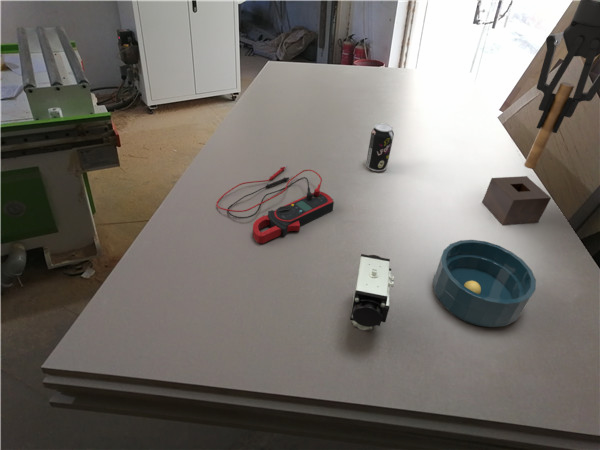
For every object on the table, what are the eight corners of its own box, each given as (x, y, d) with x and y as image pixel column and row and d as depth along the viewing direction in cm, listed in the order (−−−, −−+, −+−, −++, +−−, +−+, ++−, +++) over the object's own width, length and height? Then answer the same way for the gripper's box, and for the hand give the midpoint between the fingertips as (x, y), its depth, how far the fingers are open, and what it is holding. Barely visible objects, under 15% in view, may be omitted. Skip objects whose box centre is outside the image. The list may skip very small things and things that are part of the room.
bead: (473, 283, 71) (458, 291, 72) (484, 295, 71) (470, 303, 72) (473, 274, 73) (459, 282, 75) (484, 286, 73) (470, 294, 75)
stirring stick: (531, 163, 90) (568, 82, 79) (538, 168, 88) (577, 86, 77) (521, 163, 89) (558, 82, 78) (528, 169, 87) (566, 86, 76)
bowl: (490, 263, 82) (503, 237, 78) (538, 325, 70) (556, 298, 66) (418, 269, 80) (427, 242, 75) (455, 335, 68) (468, 307, 63)
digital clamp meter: (351, 192, 92) (262, 234, 79) (349, 208, 95) (262, 251, 82) (287, 151, 106) (202, 181, 92) (287, 166, 108) (204, 197, 95)
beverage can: (390, 166, 111) (398, 126, 104) (381, 175, 107) (389, 133, 100) (371, 160, 113) (378, 120, 106) (361, 168, 110) (368, 127, 102)
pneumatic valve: (345, 345, 65) (355, 295, 57) (353, 292, 74) (363, 243, 66) (379, 353, 64) (394, 302, 57) (383, 298, 73) (396, 249, 66)
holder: (515, 200, 101) (526, 176, 97) (538, 222, 94) (551, 197, 90) (481, 202, 100) (491, 177, 95) (502, 225, 92) (513, 200, 88)
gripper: (554, -6, 69) (504, 123, 84) (661, 9, 63) (587, 146, 77) (560, -10, 74) (512, 112, 89) (661, 3, 68) (591, 133, 82)
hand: (547, 128), depth 83 cm, fingers closed on stirring stick, 2 cm apart
